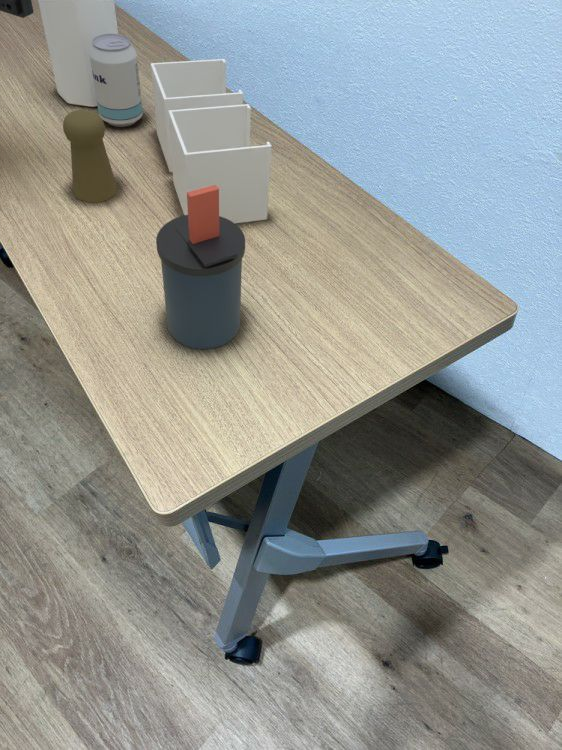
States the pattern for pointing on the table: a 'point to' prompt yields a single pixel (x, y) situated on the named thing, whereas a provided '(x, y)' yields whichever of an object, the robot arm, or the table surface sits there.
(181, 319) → the travel cup
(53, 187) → the table surface
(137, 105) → the beverage can
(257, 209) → the storage container
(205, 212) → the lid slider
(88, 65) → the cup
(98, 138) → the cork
